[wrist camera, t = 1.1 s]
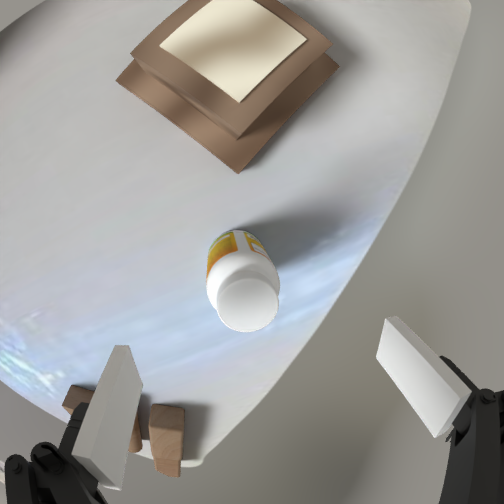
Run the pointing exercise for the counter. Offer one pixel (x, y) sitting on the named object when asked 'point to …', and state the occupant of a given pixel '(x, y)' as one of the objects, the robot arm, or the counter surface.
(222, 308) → the supplement bottle
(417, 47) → the counter surface
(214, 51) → the plinth
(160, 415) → the wooden block set
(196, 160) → the counter surface
